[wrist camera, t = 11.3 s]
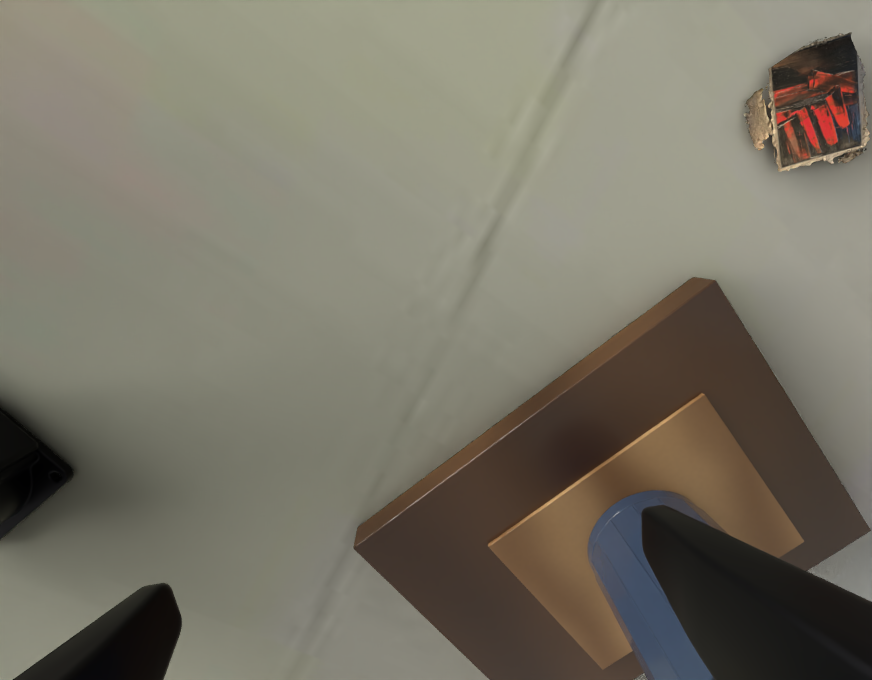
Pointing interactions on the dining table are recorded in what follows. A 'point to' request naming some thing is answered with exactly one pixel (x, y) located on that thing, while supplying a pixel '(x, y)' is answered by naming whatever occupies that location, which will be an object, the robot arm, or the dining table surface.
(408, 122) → the dining table surface
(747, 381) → the desk board
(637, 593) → the cup
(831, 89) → the painted stone tile
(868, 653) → the robot arm
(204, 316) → the dining table surface
